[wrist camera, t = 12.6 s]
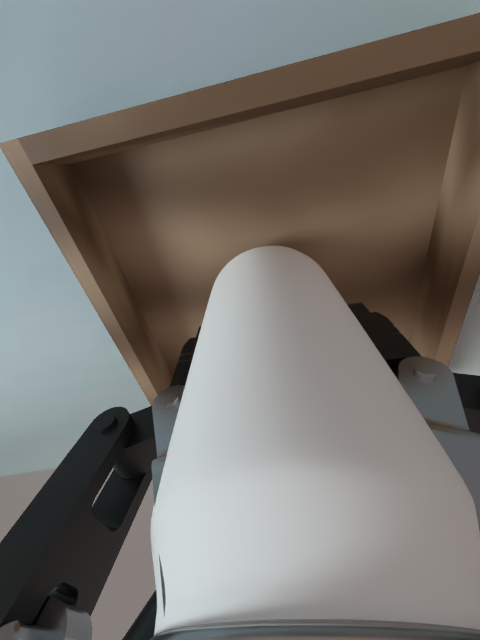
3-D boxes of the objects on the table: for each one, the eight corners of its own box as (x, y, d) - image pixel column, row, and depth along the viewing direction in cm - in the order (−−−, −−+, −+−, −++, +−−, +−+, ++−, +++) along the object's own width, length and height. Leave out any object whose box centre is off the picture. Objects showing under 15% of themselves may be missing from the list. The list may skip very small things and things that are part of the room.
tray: (60, 147, 12) (-2, 143, 9) (477, 39, 10) (579, -15, 7) (180, 398, 21) (169, 436, 18) (403, 373, 19) (431, 412, 16)
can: (353, 289, 13) (672, 681, 3) (275, 360, 16) (321, 684, 6) (259, 214, 11) (344, 610, 1) (190, 310, 14) (57, 662, 4)
